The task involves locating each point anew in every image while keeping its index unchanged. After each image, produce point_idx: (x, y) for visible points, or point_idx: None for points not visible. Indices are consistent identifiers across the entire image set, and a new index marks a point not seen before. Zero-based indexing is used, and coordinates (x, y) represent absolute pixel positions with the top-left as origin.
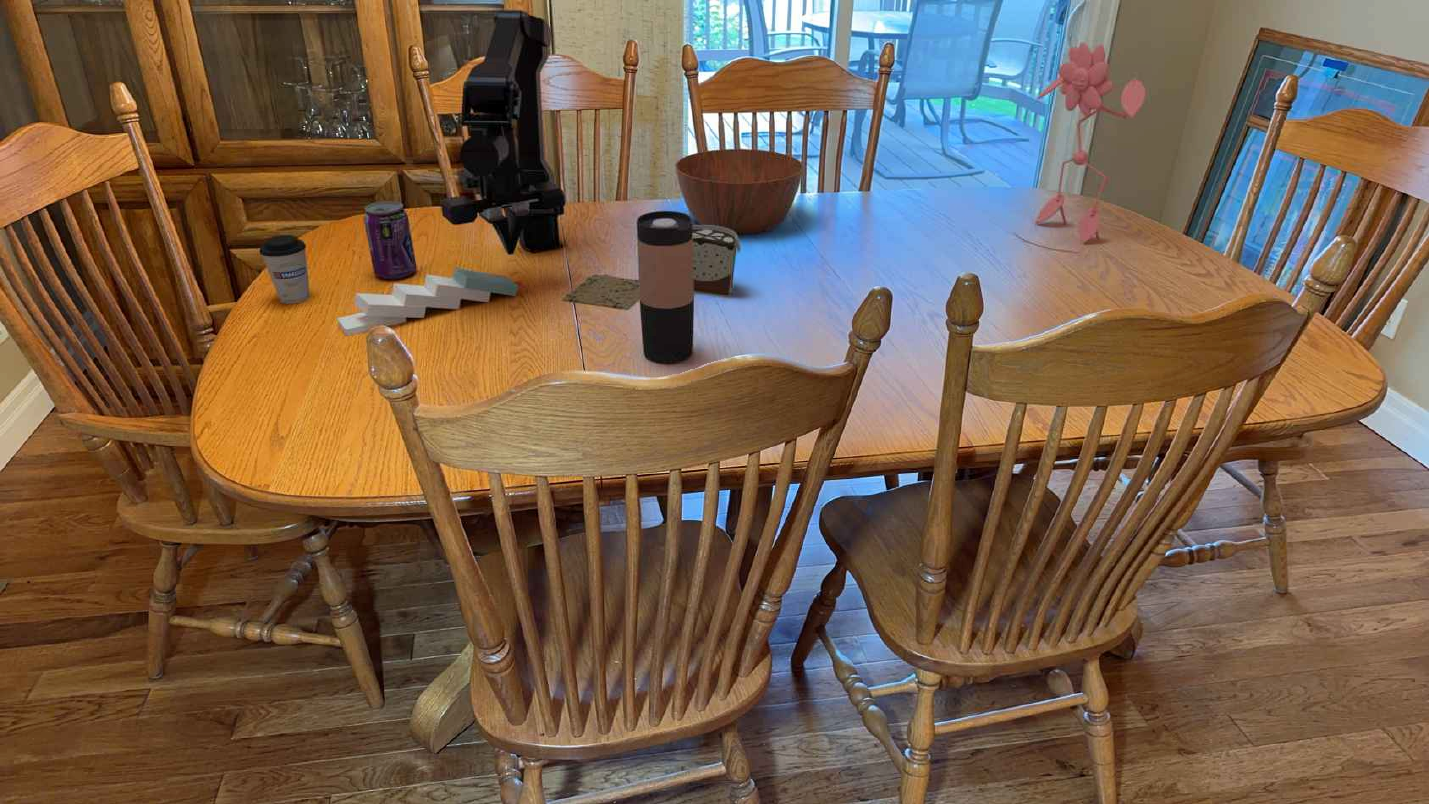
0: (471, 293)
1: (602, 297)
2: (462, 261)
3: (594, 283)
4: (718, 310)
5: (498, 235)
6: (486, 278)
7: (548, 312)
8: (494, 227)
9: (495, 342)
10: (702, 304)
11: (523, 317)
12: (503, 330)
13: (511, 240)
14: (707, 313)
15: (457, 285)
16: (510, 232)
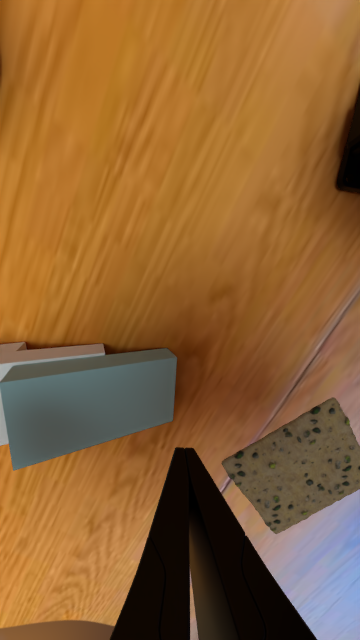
0: None
1: (276, 491)
2: (157, 97)
3: (305, 442)
4: (355, 578)
5: (149, 534)
6: (95, 426)
7: None
8: (120, 627)
9: (54, 538)
10: (357, 558)
11: (132, 487)
12: (82, 511)
13: (190, 550)
14: (339, 579)
15: (5, 429)
16: (204, 603)
